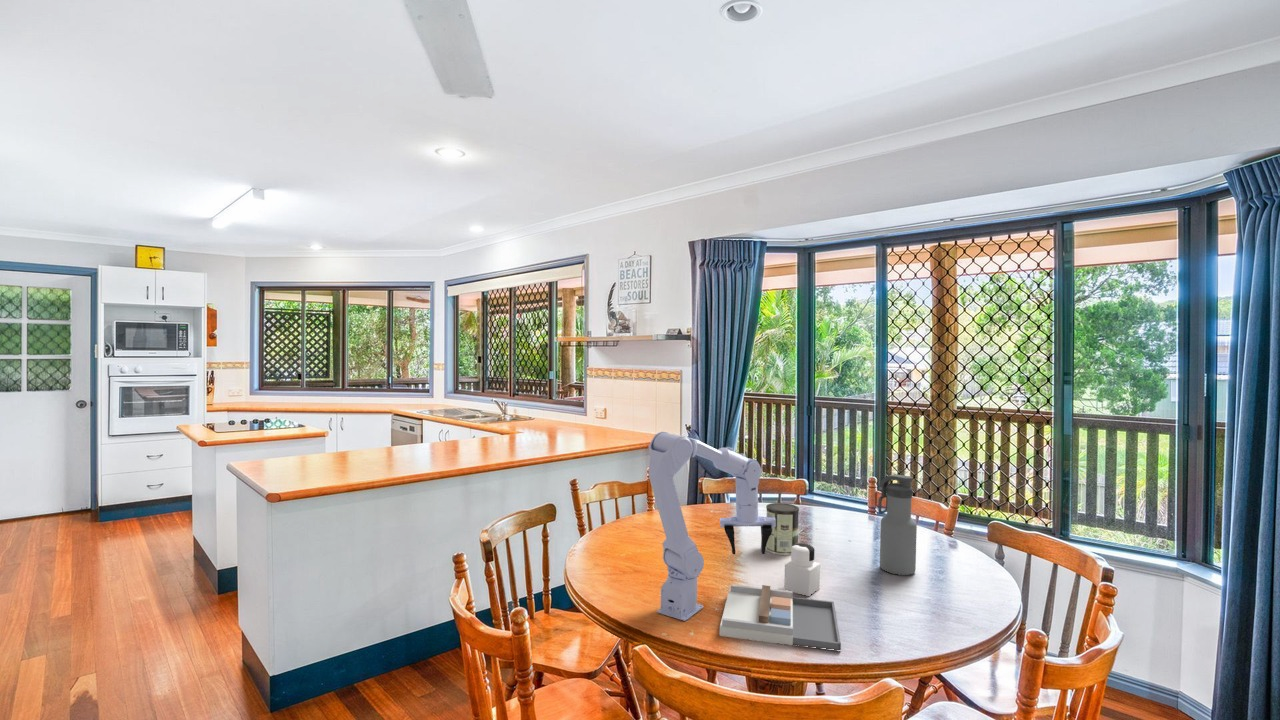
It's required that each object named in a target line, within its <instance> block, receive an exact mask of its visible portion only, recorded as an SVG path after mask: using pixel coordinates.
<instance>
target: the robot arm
mask: <svg viewBox="0 0 1280 720" xmlns="http://www.w3.org/2000/svg"><path fill="white" fill-rule="evenodd" d="M648 451H649V454H650V456H649V462H648V463H649V464H648V465H649V466H648V473H647V474H648V479H649V482H650V485H651V489H652V492H653V493H652V494H653V496H654V499H655V503H656V507H657V510H658V514H659V516H660V517H659V518H660V522H661V525H662V528H663V531H664V535H665V539H664V540H663V542H662V543H661V544H662V548H663V551H662V552H663V553H662V560H663V562H664V565H666V566H667V568H666V570H667V573H668V574H667V578H666V580H665V581H664V582H663V583H662V585H661V587H660V607H659V609H657V613H658V614H661V615H665V616H667V617H670V618H674V619H678V620H680V621H683V622H684V621H685V622H686V621H687V620H689V619H690V618H691V617H693V616H694V615H695V614H698V612H700V611H701V610H702V609H703V608H704V605H703V604H701V603H698V578H699V577H700V574H701V573H702V571H703V569H704V566H705V559H704V557H703V555H702V553H700V552H699V550H698V547H697V545H696V543H695V541H694V540H693V539H692V538H691V537H690V536H689V532H688V529H687V525H686V522H685V519H684V515H683V511H682V507H681V504H680V501H679V496H678V492H677V488H676V486H675V482H674V475H676V474H677V473H678V472H679V471H680V470H681V469H682V468H683V466H684V465H686V463H687V462H688V461H689V460H690V459H691V458H695V457H696V456H698V457H701V458H703V459H705V460H709V461H712V463H713V464H712V465H713V467H714V468H715V469H718V470H719V471H721V472H724V473H727V474H730V475H731V476H732V477H733V478H734V479H735V481H734V482H735V512H736V514H735V515H736V516H730V517H720V518H719V527H720V528H723V529H724V533H725V534H726V536H727V539H728V541H729V543H730V547H731V552H732V555H736V545H735V527H760V535H761V542H760V551H761V554H762V555H765V554H766V545H767V542H768V539H769V537H770V535H771V533H772V527H776V520H775V518H770V517H767V516H760V515H759V499H758V498H759V494H758V492H759V491H758V490H759V489H758V487H759V485H760V478H761V476H762V474H763V468H761V464H760V463H759V461H757V459H753V458H750V457H749V458H748V457H747V456H746V454H745V453H742V452H741V453H738V452H735V451H734V448H733V447H731V446H726V447H720V448H718V449H717V448H714V447H713V446H710V445H709V444H706V443H704V442H702V441H700V440H699V439H696V438H692V437H687V436H684V435H683V436H682V435H679V434H672V433H669V432H666V431H660V432H657V433H656V434H655V435H654V436H653V437H652V439H651V440H650V443H649V444H648Z"/></svg>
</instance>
